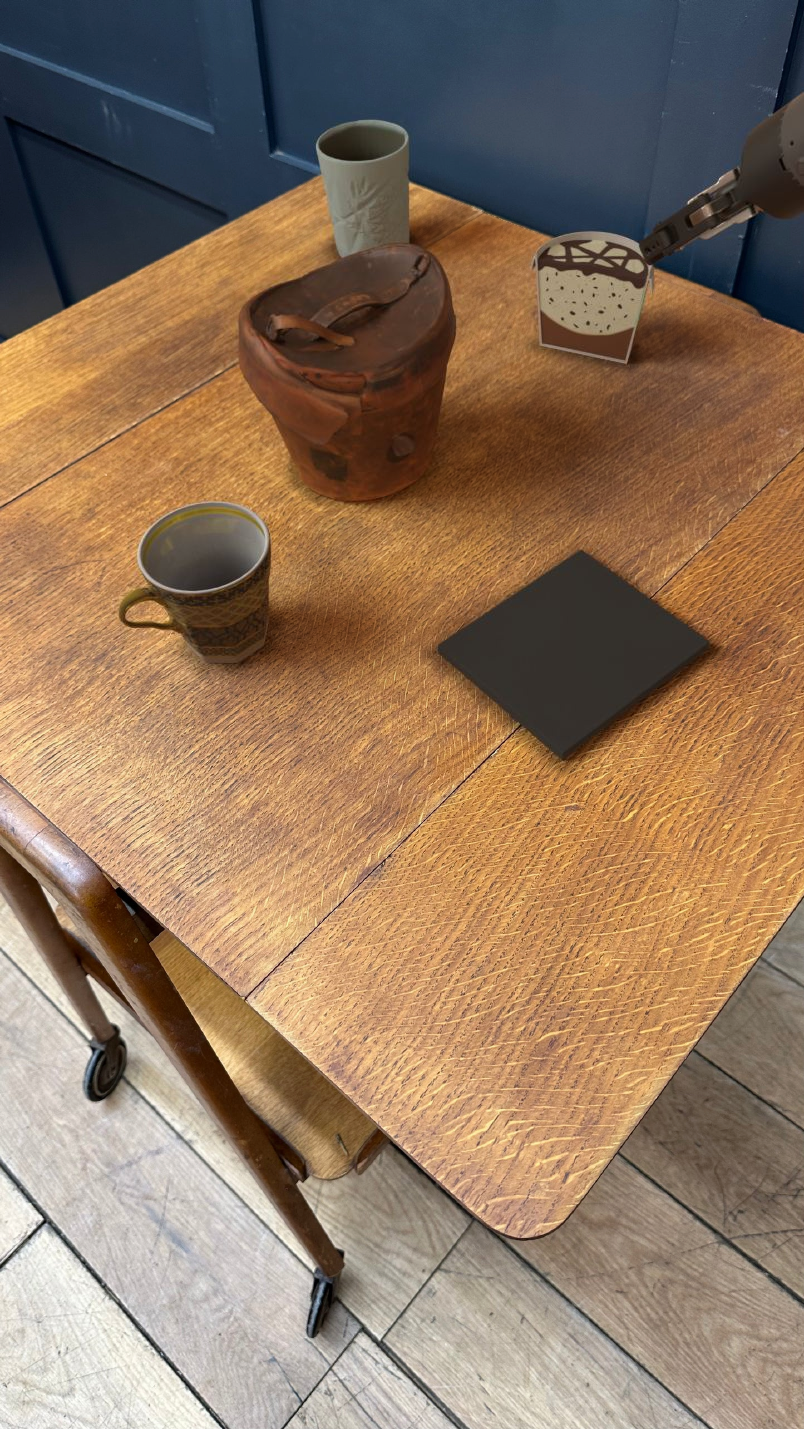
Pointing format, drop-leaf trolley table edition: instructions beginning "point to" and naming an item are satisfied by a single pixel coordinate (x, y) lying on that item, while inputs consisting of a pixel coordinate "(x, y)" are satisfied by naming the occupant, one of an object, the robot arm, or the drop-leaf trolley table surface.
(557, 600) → the mat
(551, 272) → the food container
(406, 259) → the case
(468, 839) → the drop-leaf trolley table surface
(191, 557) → the ceramic cup
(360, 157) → the embossed grey tumbler
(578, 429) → the drop-leaf trolley table surface
